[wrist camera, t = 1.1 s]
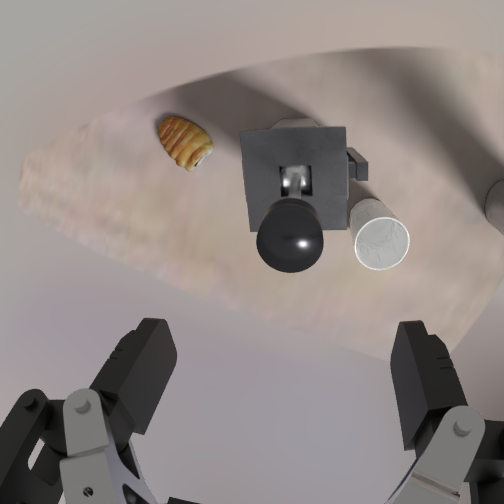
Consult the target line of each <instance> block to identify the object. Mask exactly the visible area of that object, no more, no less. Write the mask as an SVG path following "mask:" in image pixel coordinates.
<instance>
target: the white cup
mask: <svg viewBox="0 0 504 504" xmlns="http://www.w3.org/2000/svg"><path fill="white" fill-rule="evenodd" d="M349 222H350V230H351V236H352V241H353V245H354V250H355V254H356V257H357V258H358V260H359V261H360V262H361V263H362V264H363V265H364V266H366V267H367V268H370V269H373V270H385V269H389V268H391V267H393V266H395V265H397V264H398V263H399V262H400V261H401V260H402V259H403V258H404V257H405V255H406V253H407V251H408V248H409V234H408V231H407V229H406V227H405V226H404V225H403V224H402V223H401V221H400V220H399V219H398V218H397V217H396V216H395V215H394V214H393V212H392V211H391V210H390V209H389V208H387V207H386V206H385V205H384V204H383V203H382V202H381V201H378V200H376V199H374V198H372V199H363V200H361V201H360V202H358V203H356V204H355V206H354V207H353V208H352V210H351V212H350V217H349Z"/></svg>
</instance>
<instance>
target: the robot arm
mask: <svg viewBox="0 0 504 504" xmlns="http://www.w3.org/2000/svg"><path fill="white" fill-rule="evenodd" d="M485 213H486V217H487V219H488V221H489V223H490V224H491V225H492V226H493V227H495V228H496V229H497V230H498V231H499V232H500V233H501V234H502V235H504V180H501V181H499V182H497V183H496V184H495V185H494V186H493V187H492V188H491V190H490V191H489V193H488V196H487V198H486V203H485ZM176 361H177V351H176V347H175V344H174V342H173V339H172V336H171V333H170V330H169V327H168V324H167V321H166V320H165V319H157V318H156V319H155V318H144V319H143V320H142V321H141V323H140V324H139V326H138V327H137V329H136V330H132V331H130V332H129V333H128V334H126V335H125V336H124V337H123V338H122V339H121V340H120V341H119V343H118V345H117V346H116V347H115V351H113V352H112V353H111V355H110V358H109V359H107V361H106V362H105V364H104V365H103V367H102V369H101V370H100V372H99V373H98V375H97V376H96V378H95V379H94V381H93V383H92V384H91V386H90V387H89V388H88V389H79V390H77V391H75V392H73V393H72V394H70V395H69V396H68V397H67V399H66V400H49V399H48V398H47V397H46V395H45V394H44V393H43V392H42V391H41V390H39V389H31V390H28V391H26V392H25V393H23V394H22V395H21V396H20V397H19V399H18V400H17V402H16V403H15V405H14V407H13V408H12V409H11V411H10V413H9V414H8V416H7V417H6V419H5V421H4V422H3V424H2V426H1V427H0V504H58V502H59V500H60V498H61V495H62V493H63V491H64V496H65V501H66V504H158V503H157V501H156V499H155V497H154V496H153V494H152V493H151V491H150V489H149V488H148V486H147V484H146V482H145V480H144V477H143V475H142V472H141V469H140V466H139V463H138V460H137V457H136V454H135V451H134V448H133V444H132V442H131V440H130V437H131V435H132V433H133V432H135V433H138V434H142V435H144V434H145V432H146V430H147V427H148V425H149V423H150V420H151V419H152V416H153V414H154V412H155V410H156V407H157V405H158V403H159V401H160V398H161V396H162V394H163V392H164V390H165V387H166V385H167V383H168V381H169V378H170V376H171V374H172V372H173V370H174V367H175V365H176ZM390 366H391V374H392V379H393V384H394V389H395V394H396V400H397V405H398V411H399V417H400V423H401V430H402V436H403V443H404V450H405V451H407V450H414V449H415V452H416V459H415V460H414V462H413V463H412V465H411V466H410V468H409V469H408V471H407V472H406V474H405V475H404V477H403V478H402V480H401V481H400V483H399V484H398V486H397V487H396V488H395V490H394V491H393V493H392V494H391V495H390V497H389V498H388V499H387V501H386V502H385V503H384V504H457V503H458V501H459V497H460V495H459V494H458V491H459V489H460V487H461V485H462V483H463V482H469V485H470V494H471V504H504V421H503V422H502V421H491V420H485V419H483V417H482V415H481V414H480V413H479V412H478V411H477V410H475V409H474V408H472V407H469V406H468V404H467V401H466V398H465V395H464V393H463V390H462V387H461V384H460V381H459V378H458V376H457V373H456V370H455V368H454V365H453V363H452V360H451V359H450V355H449V353H448V350H447V348H446V345H445V344H444V343H443V342H442V341H441V340H440V339H439V338H438V337H437V335H436V334H434V335H428V333H427V331H426V328H425V326H424V323H423V322H422V321H421V320H418V321H403V322H400V323H399V325H398V329H397V333H396V338H395V342H394V346H393V350H392V354H391V362H390ZM39 438H40V439H41V440H42V441H43V442H44V443H45V444H44V446H43V448H42V450H41V452H40V454H39V456H38V458H37V460H36V462H35V464H34V466H33V468H32V469H31V470H30V469H29V467H28V459H29V457H30V455H31V453H32V451H33V449H34V447H35V445H36V443H37V441H38V440H39ZM167 504H199V503H194V502H190V501H185V500H180V499H177V498H172V497H169V500H168V503H167Z"/></svg>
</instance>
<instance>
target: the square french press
mask: <svg viewBox="0 0 504 504" xmlns="http://www.w3.org/2000/svg"><path fill="white" fill-rule="evenodd" d="M240 141H241V150H242V159H243V160H242V168H243V177H244V186H245V195H246V202H247V205H248V215H249V224H250V232H258V231H259V228H260V225H261V222H262V219H263V216H264V214H265V212H266V210H267V209H268V208H269V207H270V206H271V205H272V204H273V203H275V202H276V201H278V200H281V199H285V198H288V195H282V194H281V180H280V167H279V166H300V165H311V171H312V194H301V200H304V201H306V202H308V203H309V204H311V205H312V206H313V207H314V208H315V209H316V211H317V212H318V214H319V216H320V219H321V225H322V230H347V200H348V199H349V178H356V180H357V181H368V162H367V161H366V160H365V159H364V158H363V157H362V156H361V155H360V154H359V153H358V152H357V151H356V150H355V149H354V148H353V147H346V127H345V126H336V127H320V126H319V125H318V124H317V123H316V122H315V121H313V120H312V119H311V118H291V119H281V120H280V121H279V122H278V123H276V124H275V125H274V126H272V127H271V128H270V129H261V130H249V131H240Z"/></svg>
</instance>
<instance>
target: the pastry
mask: <svg viewBox="0 0 504 504" xmlns="http://www.w3.org/2000/svg"><path fill="white" fill-rule="evenodd" d="M158 135H159V137H160V141H161V143H162V144H163V145H164V148H165V150H166V151H167V152H168V155H169V156H170V157H171V158H173V159H174V160H176V164H177V165H178V166H181V167H184V168H185V169H186V170H187V171H193V170H194V169H195V167H196V166H198V165H199V164H200V163H201V162H202V160H203V159H204V158H205V156H207V155H209V154H210V153H211V152H212V151H213V148H214V146H213V143H212V141H211V139H210V137H209V135H208V134H207V133H206V132H205V131H204V130H202V129H201V128H199V127H198V126H196V125H195V124H193V123H190V122H188V121H186V120H184V119H182V118H179V117H168V118H166V119H165V120H164V121H163V122H162V123H160V124H159V125H158Z"/></svg>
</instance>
